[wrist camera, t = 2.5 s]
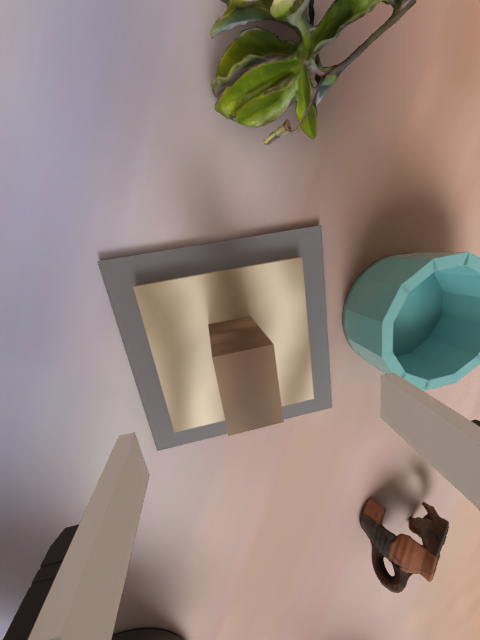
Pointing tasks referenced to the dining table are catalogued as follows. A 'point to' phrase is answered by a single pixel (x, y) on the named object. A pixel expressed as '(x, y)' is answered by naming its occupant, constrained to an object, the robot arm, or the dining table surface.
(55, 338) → the dining table surface
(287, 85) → the passion flower
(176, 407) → the lid
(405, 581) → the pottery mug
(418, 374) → the bowl
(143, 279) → the mat
